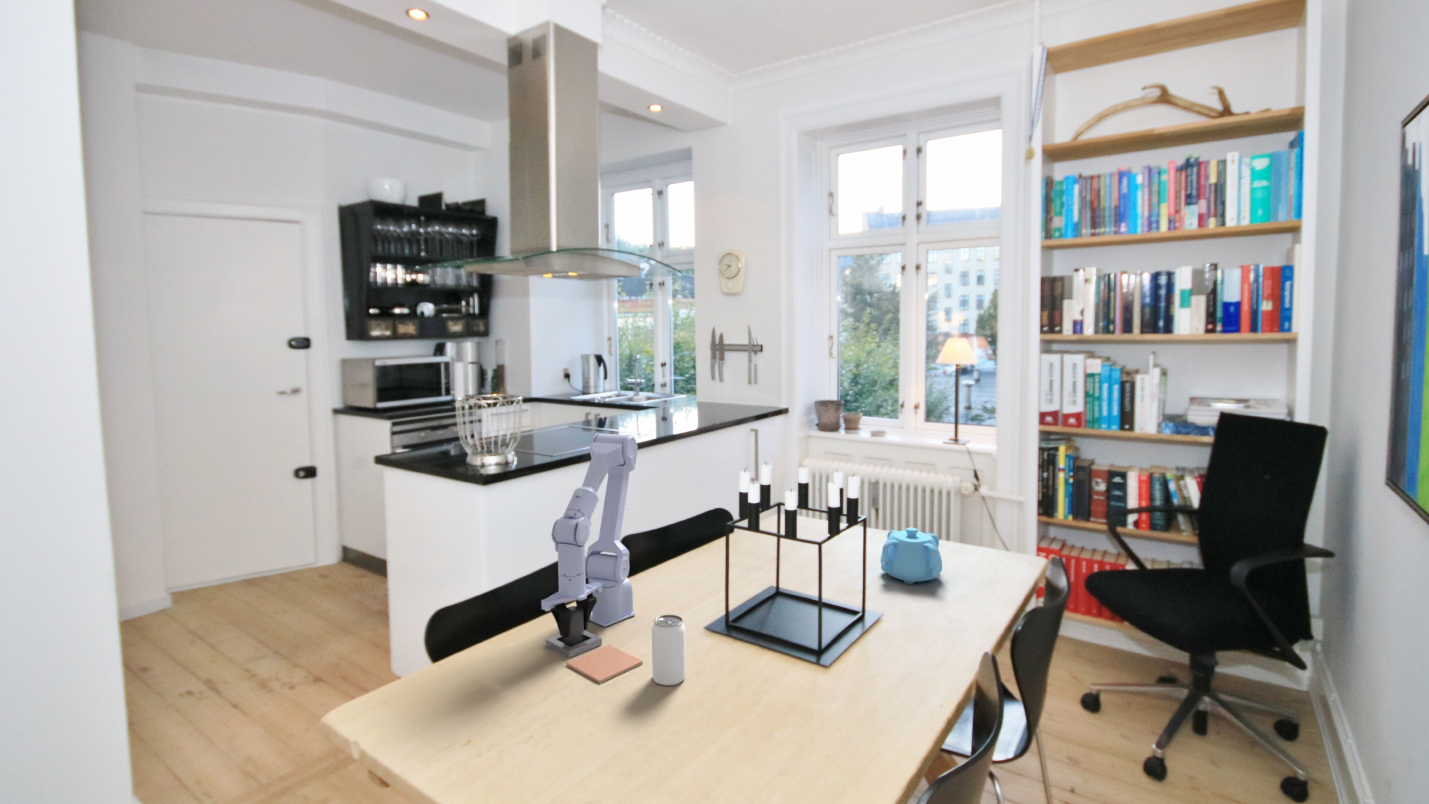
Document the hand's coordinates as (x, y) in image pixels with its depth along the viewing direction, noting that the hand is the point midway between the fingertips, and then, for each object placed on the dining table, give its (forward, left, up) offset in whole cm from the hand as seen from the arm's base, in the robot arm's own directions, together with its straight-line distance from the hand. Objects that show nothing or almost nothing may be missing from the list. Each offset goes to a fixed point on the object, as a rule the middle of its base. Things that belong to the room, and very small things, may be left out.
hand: (573, 632), depth 155 cm
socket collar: (0, 0, -3) cm, 3 cm away
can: (-4, +26, -3) cm, 26 cm away
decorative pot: (-88, +34, -3) cm, 94 cm away
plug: (0, 0, -3) cm, 3 cm away
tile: (+1, +12, -3) cm, 12 cm away
